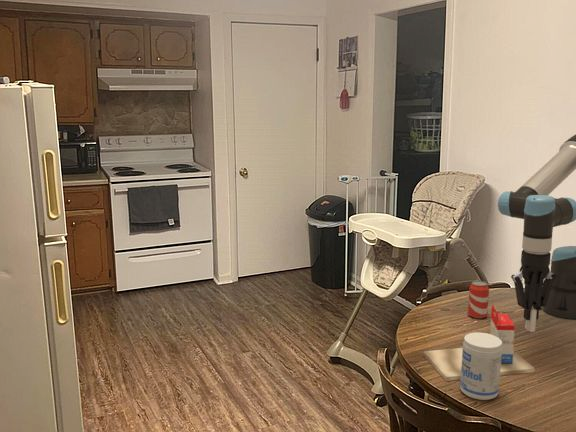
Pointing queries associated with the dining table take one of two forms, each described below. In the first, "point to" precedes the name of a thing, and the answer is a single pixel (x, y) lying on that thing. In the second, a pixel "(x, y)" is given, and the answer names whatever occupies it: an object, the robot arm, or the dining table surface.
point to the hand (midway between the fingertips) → (529, 329)
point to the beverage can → (478, 299)
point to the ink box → (503, 334)
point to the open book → (451, 363)
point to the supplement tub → (481, 365)
